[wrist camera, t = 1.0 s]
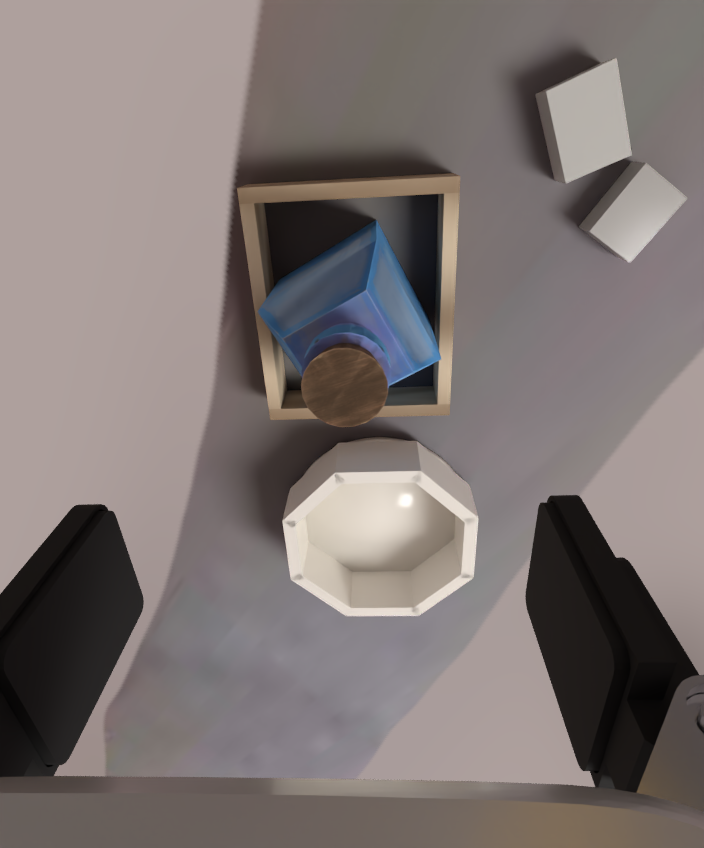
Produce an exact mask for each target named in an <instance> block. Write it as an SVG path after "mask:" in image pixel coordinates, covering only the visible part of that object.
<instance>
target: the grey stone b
mask: <svg viewBox="0 0 704 848" xmlns="http://www.w3.org/2000/svg"><path fill="white" fill-rule="evenodd" d="M686 200H687V197H686V196H684V195H683V194H682V193H681V192H680V191H679V190H677V189H676V188H675V187H674V186H673V185H672V184H670V183H669V182H668V181H667V180H666V179H664V178H663V177H662V176H661V175H660V174H659V173H657V172H656V171H655V170H654V169H653V168H652V167H650V166H649V165H648V164H647V163H642V162H631V163H630V164H629V165H628V167H627V168H626V169H625V170H624V172H623V173H622V174H621V175H620V176H619V178H618V179H617V180H616V181H615V183H614V184H613V185H612V186H611V188H610V189H609V190H608V191H607V192H606V194H605V195H604V196H603V197H602V199H601V200H600V201H599V202H598V204H597V205H596V206H595V207H594V208H593V210H592V211H591V212H590V213H589V215H588V216H587V217H586V218H585V219H584V221H583V222H582V223H581V224H580V226H579V228H581V229H582V230H583V231H585V232H586V233H587V234H588V235H590V236H591V237H592V238H594V239H595V240H596V241H597V242H599V243H600V244H601V245H603V246H604V247H605V248H606V249H608V250H609V251H610V252H612V253H613V254H614V255H615V256H617V257H618V258H620V259H622V260H625V261H627V262H629V263H630V262H631V261H632V260H633V259H634V258H635V257H636V256H637V254H638V253H639V252H640V251H641V250H642V249H643V248H644V247H645V245H646V244H647V243H648V242H649V241H650V240H651V239H652V238H653V237H654V235H655V234H656V233H657V232H658V231H659V230H660V229H661V228H662V226H663V225H664V224H665V223H666V222H667V221H668V220H669V219H670V217H671V216H672V215H673V214H674V213H675V212H676V211H677V210H678V209H679V207H680V206H681V205H682V204H683V203H684V202H685V201H686Z"/></svg>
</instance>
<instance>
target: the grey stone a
mask: <svg viewBox="0 0 704 848" xmlns="http://www.w3.org/2000/svg"><path fill="white" fill-rule="evenodd" d="M535 96H536V100H537V104H538V109H539V113H540V118H541V122H542V127H543V131H544V136H545V140H546V145H547V149H548V153H549V158H550V162H551V167H552V171H553V176H554V180H555V181H558V182H562V183H568V182H570V181H573V180H575V179H577V178H580V177H582V176H584V175H587V174H589V173H591V172H594V171H596V170H598V169H601V168H603V167H605V166H608V165H610V164H612V163H615V162H617V161H619V160H621V159H624V158H626V157H628V156H631V155H632V153H631V147H630V140H629V134H628V128H627V121H626V115H625V108H624V102H623V96H622V89H621V83H620V76H619V70H618V63H617V58H614V59H611V60H608V61H605V62H602V63H600V64H598V65H596V66H593V67H591V68H589V69H587V70H585V71H583V72H581V73H579V74H577V75H575V76H572V77H570V78H568V79H566V80H564V81H562V82H560V83H558V84H556V85H553V86H551V87H549V88H547V89H545V90H543V91H541V92H539V93H537V94H535Z"/></svg>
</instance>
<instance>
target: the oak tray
mask: <svg viewBox="0 0 704 848" xmlns="http://www.w3.org/2000/svg"><path fill="white" fill-rule="evenodd" d="M237 192H238V199H239V206H240V213H241V220H242V227H243V234H244V240H245V247H246V254H247V261H248V268H249V275H250V282H251V289H252V296H253V303H254V310H255V317H256V323H257V330H258V337H259V344H260V351H261V358H262V365H263V372H264V379H265V386H266V393H267V400H268V406H269V413H270V420H286V419H318V418H317V417H316V416H315V415H314V414H313V413H312V412H311V411H310V410H309V409H308V407H307V405H306V403H305V401H304V399H303V397H302V390H291V391H287V384H286V376H285V368H284V360H283V352H282V347H281V345H280V344H279V342H278V341H277V340H276V338H275V337H274V335H273V334H272V332H271V331H270V329H269V328H268V326H267V325H266V324H265V322H264V321H263V319H262V318H261V316H260V315H259V313H258V310H259V309H260V307H261V306H262V304H263V303H264V301H265V300H266V299H267V297H268V296H269V294H270V293H271V291H272V290H273V288H274V279H273V270H272V262H271V254H270V246H269V238H268V230H267V222H266V213H265V205H264V203H271V202H291V201H310V200H329V199H348V198H368V197H387V196H406V195H425V194H438V224H437V261H436V298H435V335H434V336H435V340H436V343H437V346H438V349H439V353H440V356H441V360H439V361H437V362H435V363H434V372H433V386H422V387H389V388H388V395H387V398H386V401H385V405H384V406H383V408H382V409H381V410H380V412H379V413H378V414H377V415H376V416H375V417H396V416H433V415H449V414H450V392H451V370H452V347H453V325H454V303H455V281H456V259H457V236H458V214H459V192H460V176H459V175H456V174H454V173H445V174H427V175H408V176H390V177H372V178H353V179H335V180H316V181H298V182H279V183H261V184H247V185H244V186H242V187H239V188H237Z"/></svg>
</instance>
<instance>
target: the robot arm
mask: <svg viewBox="0 0 704 848" xmlns="http://www.w3.org/2000/svg"><path fill="white" fill-rule="evenodd" d="M526 605H527V610H528V613H529V616H530V619H531V623H532V626H533V629H534V632H535V635H536V637H537V641H538V644H539V647H540V650H541V653H542V656H543V659H544V662H545V665H546V668H547V671H548V674H549V677H550V680H551V683H552V686H553V689H554V692H555V695H556V698H557V701H558V704H559V707H560V711H561V714H562V717H563V720H564V723H565V726H566V729H567V732H568V735H569V738H570V741H571V744H572V747H573V750H574V753H575V756H576V759H577V762H578V764H579V766H580V768H581V769H582V770H583V771H590V773H591V775H592V778H593V781H594V784H595V787H586V786H574V785H559V784H531V783H504V782H476V781H475V782H474V781H422V780H421V781H420V780H366V779H363V780H362V779H301V778H219V777H94V776H92V777H90V776H85V777H84V776H54V774H55V772H56V770H57V768H58V766H59V765H62V764H64V763H65V762H66V761H67V760H68V759H69V757H70V755H71V753H72V751H73V749H74V747H75V745H76V743H77V741H78V739H79V737H80V735H81V733H82V731H83V729H84V727H85V725H86V723H87V721H88V719H89V717H90V715H91V713H92V711H93V709H94V707H95V705H96V703H97V701H98V699H99V697H100V695H101V693H102V691H103V689H104V687H105V685H106V683H107V681H108V679H109V677H110V675H111V673H112V671H113V669H114V667H115V665H116V663H117V661H118V659H119V657H120V655H121V653H122V651H123V649H124V647H125V645H126V643H127V641H128V639H129V637H130V635H131V632H132V630H133V629H134V627H135V625H136V623H137V620H138V619H139V617H140V615H141V612H142V609H143V595H142V592H141V589H140V586H139V583H138V580H137V577H136V574H135V571H134V568H133V565H132V563H131V560H130V557H129V554H128V551H127V548H126V545H125V542H124V539H123V536H122V533H121V530H120V527H119V524H118V521H117V518H116V516H115V514H114V512H113V511H108V509H107V507H106V506H105V505H101V504H98V505H97V504H96V505H76V506H74V507H73V508H72V509H71V510H70V511H69V512H68V514H67V515H66V516H65V517H64V518H63V520H62V521H61V522H60V523H59V524H58V526H57V527H56V528H55V529H54V530H53V532H52V533H51V534H50V535H49V536H48V538H47V539H46V540H45V541H44V543H43V544H42V545H41V546H40V547H39V548H38V550H37V551H36V552H35V553H34V554H33V556H32V557H31V558H30V559H29V560H28V562H27V563H26V564H25V565H24V566H23V568H22V569H21V570H20V571H19V572H18V574H17V575H16V576H15V577H14V579H13V580H12V581H11V582H10V583H9V585H8V586H7V587H6V588H5V589H4V590H3V592H2V593H1V594H0V848H704V675H699V674H698V672H697V670H696V669H695V667H694V666H693V664H692V662H691V661H690V659H689V657H688V656H687V654H686V652H685V651H684V649H683V648H682V646H681V644H680V643H679V641H678V640H677V638H676V636H675V635H674V633H673V632H672V630H671V628H670V626H669V625H668V623H667V621H666V620H665V618H664V617H663V615H662V613H661V612H660V610H659V608H658V607H657V605H656V604H655V602H654V600H653V599H652V597H651V596H650V594H649V592H648V591H647V589H646V587H645V586H644V584H643V583H642V581H641V579H640V577H639V576H638V575H637V573H636V571H635V569H634V568H633V566H632V565H631V564H630V562H629V561H628V560H626V559H625V558H616V557H615V555H614V554H613V552H612V550H611V549H610V547H609V545H608V544H607V542H606V540H605V538H604V537H603V535H602V533H601V532H600V530H599V528H598V527H597V525H596V523H595V521H594V520H593V518H592V516H591V514H590V513H589V511H588V509H587V508H586V506H585V504H584V503H583V501H582V499H581V498H580V497H579V496H577V495H563V496H550V497H549V498H548V501H547V503H540V505H539V508H538V515H537V521H536V528H535V535H534V541H533V548H532V555H531V561H530V568H529V575H528V582H527V588H526Z"/></svg>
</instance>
